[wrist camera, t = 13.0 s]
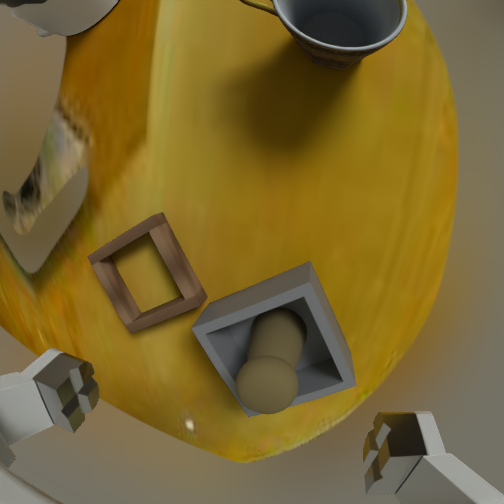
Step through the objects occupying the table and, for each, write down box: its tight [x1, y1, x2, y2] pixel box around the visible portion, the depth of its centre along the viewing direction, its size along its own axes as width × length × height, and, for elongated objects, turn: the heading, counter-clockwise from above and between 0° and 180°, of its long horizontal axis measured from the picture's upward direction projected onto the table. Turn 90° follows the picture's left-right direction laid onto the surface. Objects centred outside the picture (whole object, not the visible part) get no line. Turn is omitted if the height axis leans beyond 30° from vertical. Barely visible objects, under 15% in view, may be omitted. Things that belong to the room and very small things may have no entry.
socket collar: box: [87, 212, 207, 333], centre depth 34 cm, size 10×10×2 cm
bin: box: [191, 261, 356, 417], centre depth 32 cm, size 12×12×6 cm
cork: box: [235, 307, 307, 414], centre depth 28 cm, size 6×6×11 cm
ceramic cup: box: [239, 0, 407, 70], centre depth 21 cm, size 13×10×10 cm
